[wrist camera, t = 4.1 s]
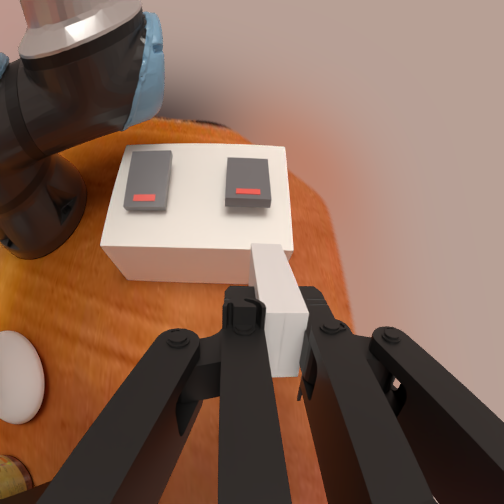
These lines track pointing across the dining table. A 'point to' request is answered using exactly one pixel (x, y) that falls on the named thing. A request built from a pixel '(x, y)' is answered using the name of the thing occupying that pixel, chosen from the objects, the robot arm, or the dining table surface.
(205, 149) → the switch box
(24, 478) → the sauce bottle
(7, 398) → the flower in vase
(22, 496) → the tissue box
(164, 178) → the block
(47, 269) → the dining table surface
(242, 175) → the rocker outer
